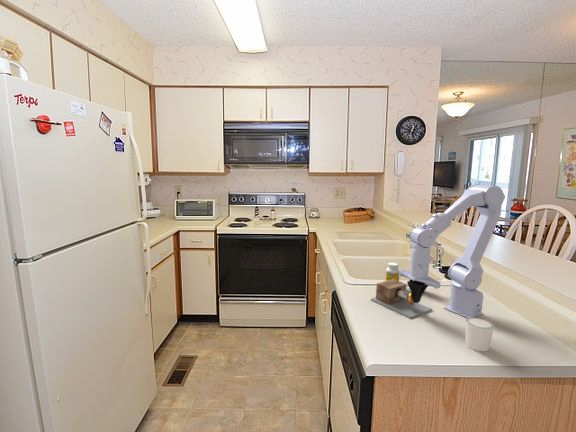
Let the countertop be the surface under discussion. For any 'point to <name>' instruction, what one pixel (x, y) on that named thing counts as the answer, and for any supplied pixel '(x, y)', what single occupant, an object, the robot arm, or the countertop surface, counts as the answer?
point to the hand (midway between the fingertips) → (416, 301)
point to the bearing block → (389, 291)
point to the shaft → (404, 296)
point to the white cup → (478, 333)
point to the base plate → (405, 308)
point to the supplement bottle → (392, 272)
